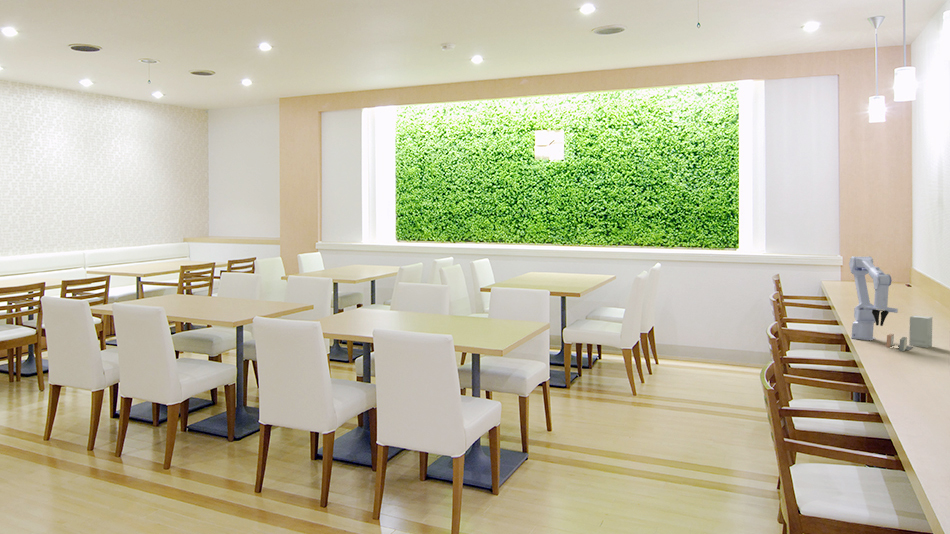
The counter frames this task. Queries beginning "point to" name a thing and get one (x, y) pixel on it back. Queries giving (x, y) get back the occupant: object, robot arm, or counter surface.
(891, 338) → the terracotta tile
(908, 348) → the rubber mat
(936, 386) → the counter surface
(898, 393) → the counter surface
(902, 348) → the slate tile
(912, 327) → the skincare box
